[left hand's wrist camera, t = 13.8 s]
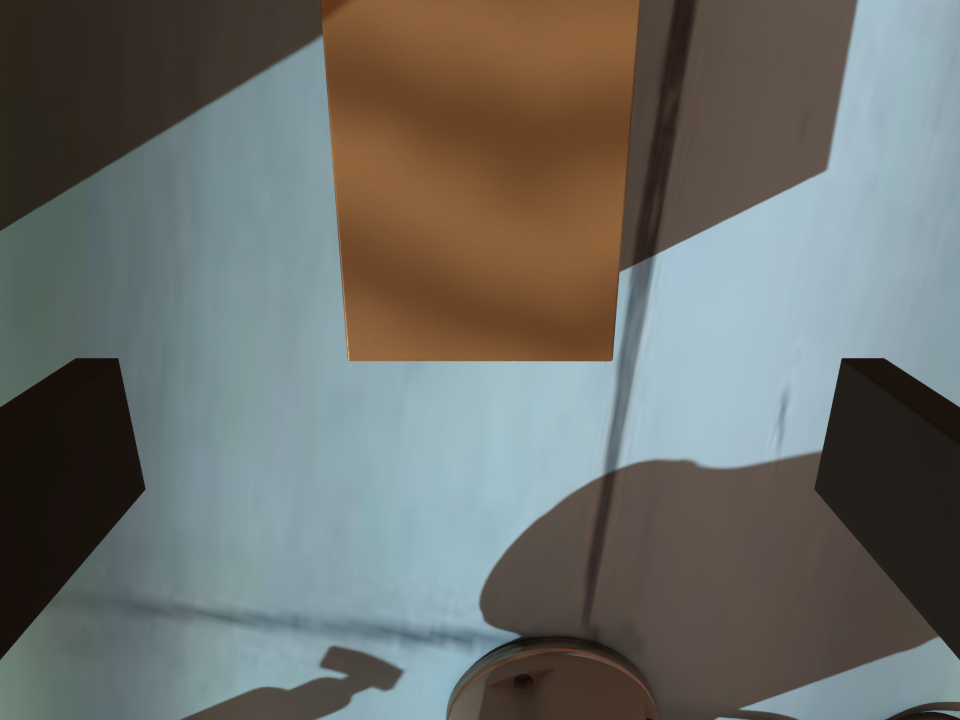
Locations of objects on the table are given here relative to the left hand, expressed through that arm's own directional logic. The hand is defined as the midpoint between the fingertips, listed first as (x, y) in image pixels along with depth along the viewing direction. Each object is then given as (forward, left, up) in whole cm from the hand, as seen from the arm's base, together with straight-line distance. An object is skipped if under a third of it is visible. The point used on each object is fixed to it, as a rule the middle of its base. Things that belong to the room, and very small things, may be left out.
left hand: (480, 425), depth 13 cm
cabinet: (+2, -5, -25) cm, 26 cm away
